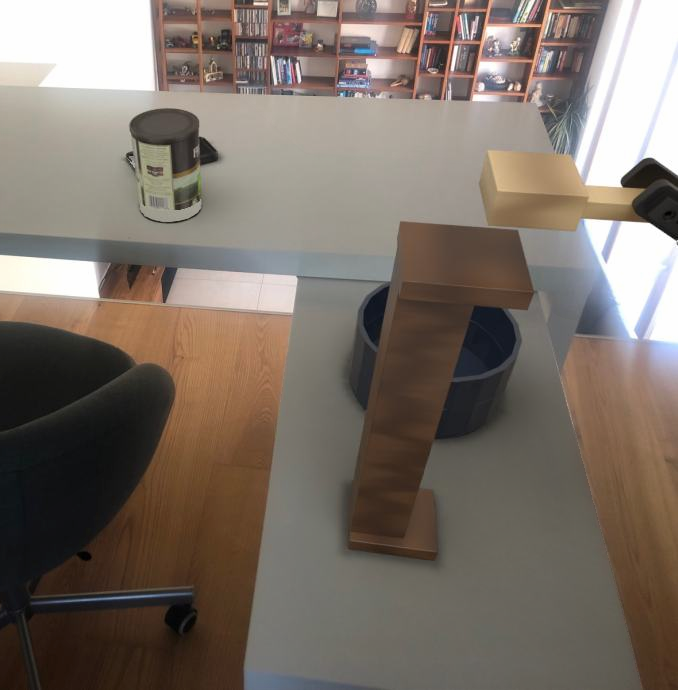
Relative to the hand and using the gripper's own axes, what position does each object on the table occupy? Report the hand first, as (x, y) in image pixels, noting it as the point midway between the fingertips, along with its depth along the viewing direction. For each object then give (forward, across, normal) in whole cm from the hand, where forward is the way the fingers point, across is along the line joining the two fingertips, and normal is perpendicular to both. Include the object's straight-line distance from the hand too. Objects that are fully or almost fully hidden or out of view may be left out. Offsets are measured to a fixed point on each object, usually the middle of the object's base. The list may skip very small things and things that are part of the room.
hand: (640, 183), depth 41 cm
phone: (+21, -69, +56) cm, 91 cm away
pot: (-15, -20, +35) cm, 43 cm away
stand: (-11, 0, +37) cm, 39 cm away
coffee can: (+18, -54, +54) cm, 79 cm away
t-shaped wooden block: (+1, 0, +3) cm, 3 cm away
